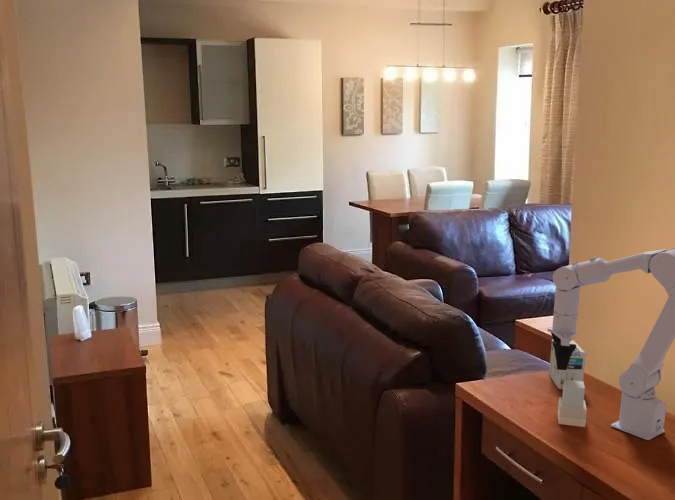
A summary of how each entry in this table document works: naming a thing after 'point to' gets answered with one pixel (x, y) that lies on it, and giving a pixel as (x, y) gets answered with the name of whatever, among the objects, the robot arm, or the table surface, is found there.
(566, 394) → the pale blue block
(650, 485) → the table surface
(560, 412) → the beige block
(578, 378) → the light bulb box
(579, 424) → the cream slab
